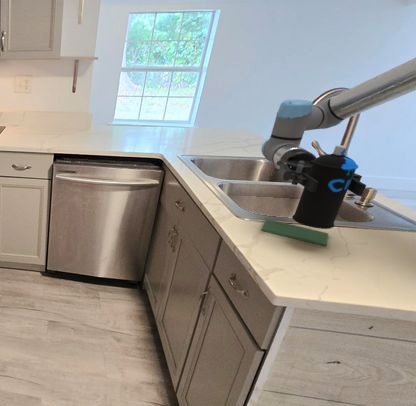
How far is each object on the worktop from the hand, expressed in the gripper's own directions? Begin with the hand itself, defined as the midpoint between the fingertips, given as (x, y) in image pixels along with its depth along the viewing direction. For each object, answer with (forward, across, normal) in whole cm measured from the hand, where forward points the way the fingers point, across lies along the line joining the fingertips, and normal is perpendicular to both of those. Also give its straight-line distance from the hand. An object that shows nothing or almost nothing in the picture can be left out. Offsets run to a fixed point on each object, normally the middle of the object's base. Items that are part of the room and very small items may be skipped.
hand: (338, 188), depth 85 cm
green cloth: (-12, -1, -18) cm, 22 cm away
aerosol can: (-5, 0, -11) cm, 12 cm away
